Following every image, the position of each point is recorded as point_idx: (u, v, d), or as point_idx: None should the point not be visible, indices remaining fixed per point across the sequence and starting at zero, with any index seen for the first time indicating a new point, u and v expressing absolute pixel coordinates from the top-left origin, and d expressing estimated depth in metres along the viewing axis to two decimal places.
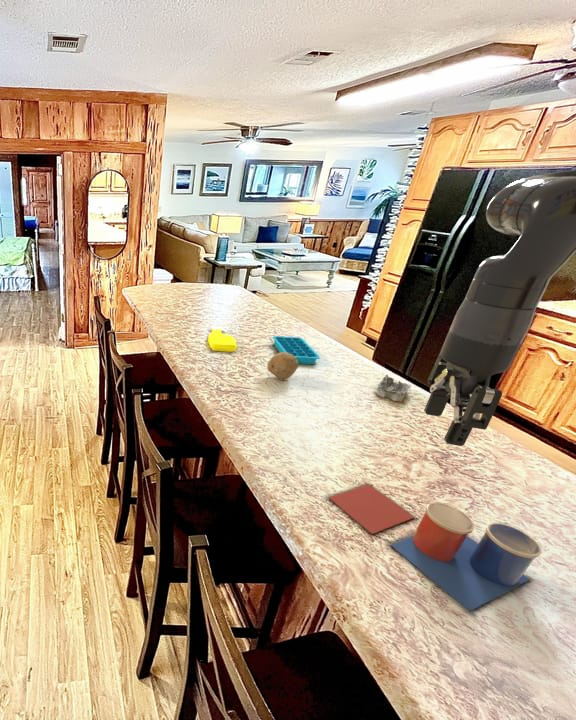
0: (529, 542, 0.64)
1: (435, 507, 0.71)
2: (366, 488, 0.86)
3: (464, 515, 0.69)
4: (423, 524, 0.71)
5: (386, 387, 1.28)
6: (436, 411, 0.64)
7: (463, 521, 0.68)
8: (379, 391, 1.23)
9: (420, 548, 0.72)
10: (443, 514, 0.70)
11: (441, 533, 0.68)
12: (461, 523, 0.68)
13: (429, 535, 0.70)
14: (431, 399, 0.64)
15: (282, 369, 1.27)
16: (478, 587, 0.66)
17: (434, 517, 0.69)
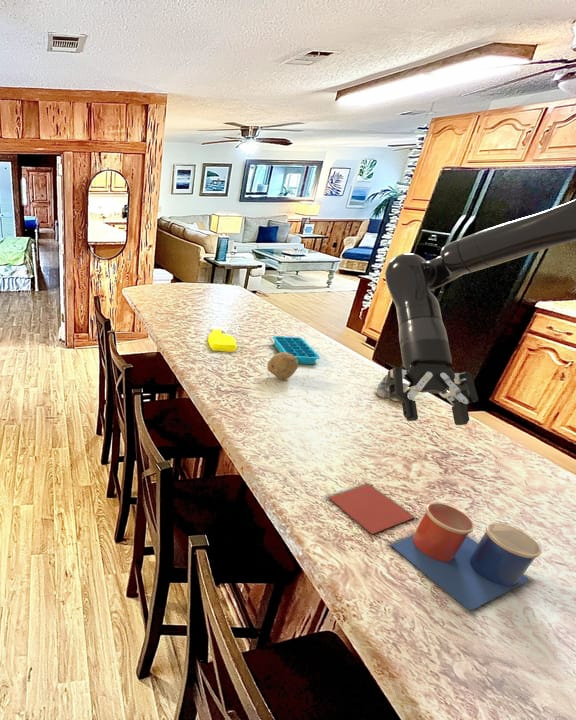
0: (529, 542, 0.64)
1: (435, 507, 0.71)
2: (366, 488, 0.86)
3: (464, 515, 0.69)
4: (423, 524, 0.71)
5: (386, 387, 1.28)
6: (459, 419, 0.73)
7: (463, 521, 0.68)
8: (379, 391, 1.23)
9: (420, 548, 0.72)
10: (443, 514, 0.70)
11: (441, 533, 0.68)
12: (461, 523, 0.68)
13: (429, 535, 0.70)
14: (452, 410, 0.75)
15: (282, 369, 1.27)
16: (478, 587, 0.66)
17: (434, 517, 0.69)
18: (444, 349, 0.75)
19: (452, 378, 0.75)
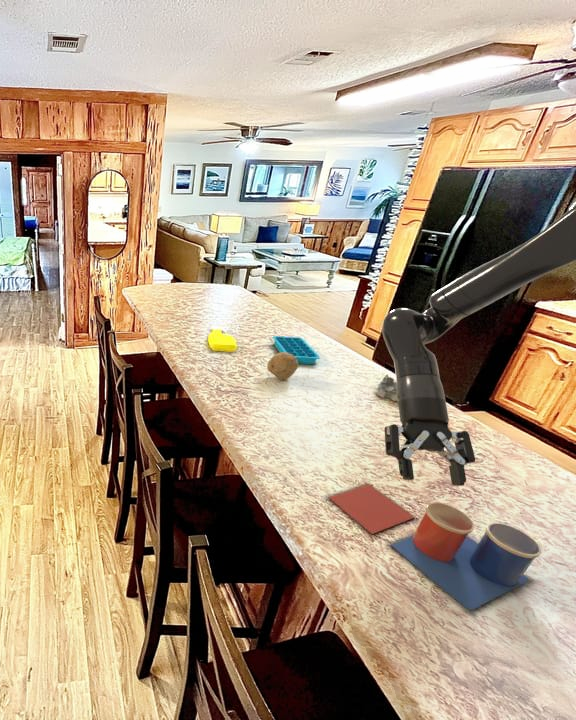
0: (529, 542, 0.64)
1: (435, 507, 0.71)
2: (366, 488, 0.86)
3: (464, 515, 0.69)
4: (423, 524, 0.71)
5: (386, 387, 1.28)
6: (456, 480, 0.73)
7: (463, 521, 0.68)
8: (379, 391, 1.23)
9: (420, 548, 0.72)
10: (443, 514, 0.70)
11: (441, 533, 0.68)
12: (461, 523, 0.68)
13: (429, 535, 0.70)
14: (449, 469, 0.75)
15: (282, 369, 1.27)
16: (478, 587, 0.66)
17: (434, 517, 0.69)
18: (441, 408, 0.75)
19: (449, 437, 0.75)
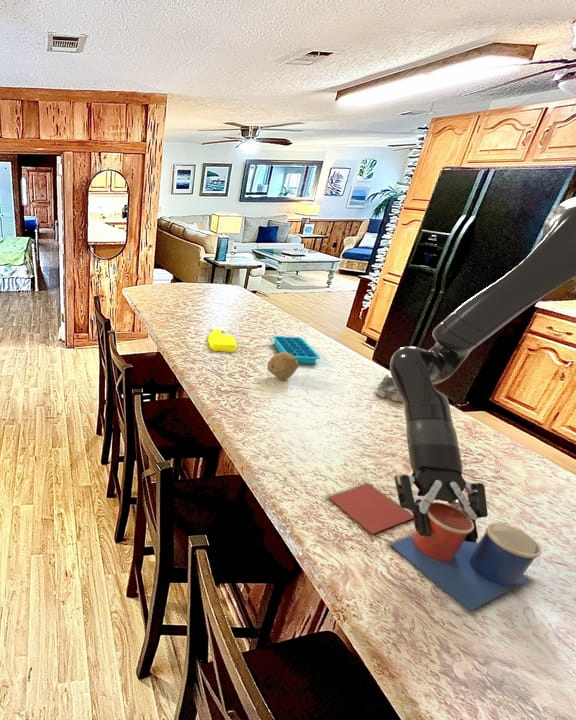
0: (529, 542, 0.64)
1: (434, 507, 0.71)
2: (366, 488, 0.86)
3: (464, 515, 0.69)
4: None
5: (386, 387, 1.28)
6: (467, 536, 0.69)
7: (463, 521, 0.68)
8: (379, 391, 1.23)
9: (420, 548, 0.72)
10: (443, 514, 0.70)
11: (441, 533, 0.68)
12: (461, 523, 0.68)
13: None
14: None
15: (282, 369, 1.27)
16: (478, 587, 0.66)
17: (434, 517, 0.69)
18: (454, 457, 0.71)
19: (463, 487, 0.71)
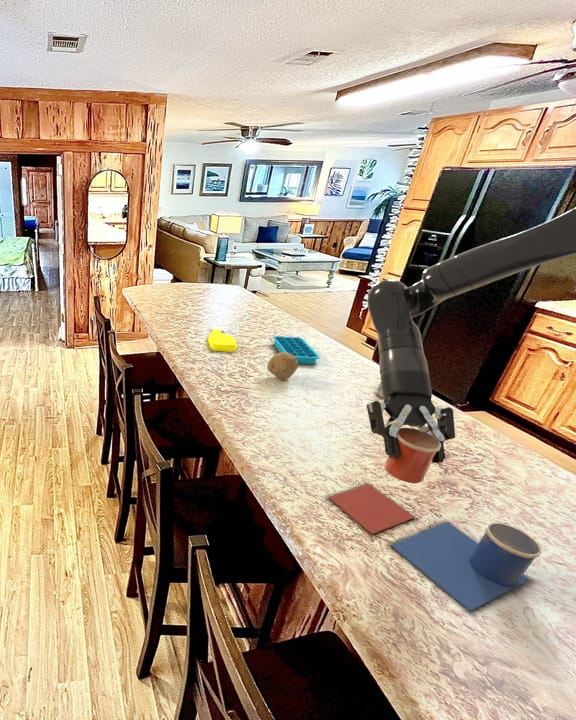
0: (529, 542, 0.64)
1: (404, 431, 0.73)
2: (366, 488, 0.86)
3: (432, 437, 0.71)
4: None
5: None
6: (435, 457, 0.71)
7: (431, 442, 0.70)
8: (379, 391, 1.23)
9: (390, 472, 0.74)
10: (412, 437, 0.71)
11: (409, 453, 0.70)
12: (429, 443, 0.70)
13: None
14: None
15: (282, 369, 1.27)
16: (478, 587, 0.66)
17: (403, 439, 0.71)
18: (424, 381, 0.72)
19: (432, 411, 0.73)
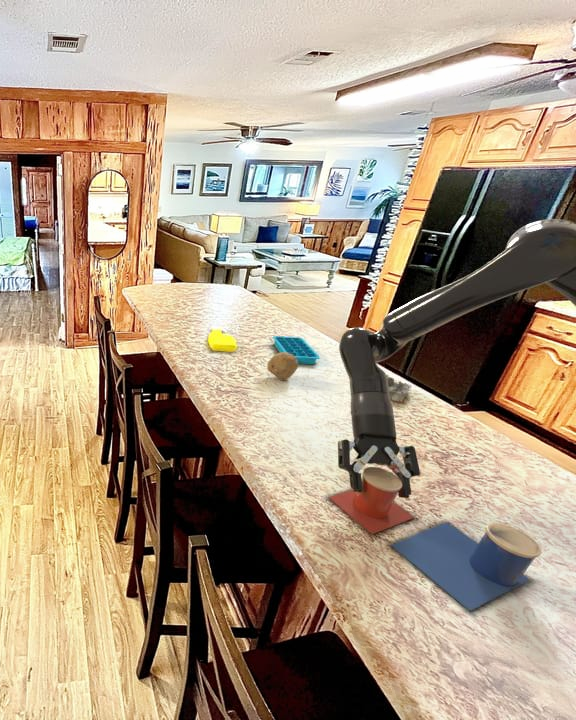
0: (529, 542, 0.64)
1: (370, 470, 0.80)
2: None
3: (395, 477, 0.78)
4: None
5: None
6: (402, 492, 0.78)
7: (393, 481, 0.77)
8: None
9: (358, 507, 0.81)
10: (377, 476, 0.78)
11: (374, 492, 0.77)
12: (391, 483, 0.77)
13: (364, 494, 0.79)
14: None
15: (282, 369, 1.27)
16: (478, 587, 0.66)
17: (369, 478, 0.78)
18: (388, 425, 0.79)
19: (396, 452, 0.80)
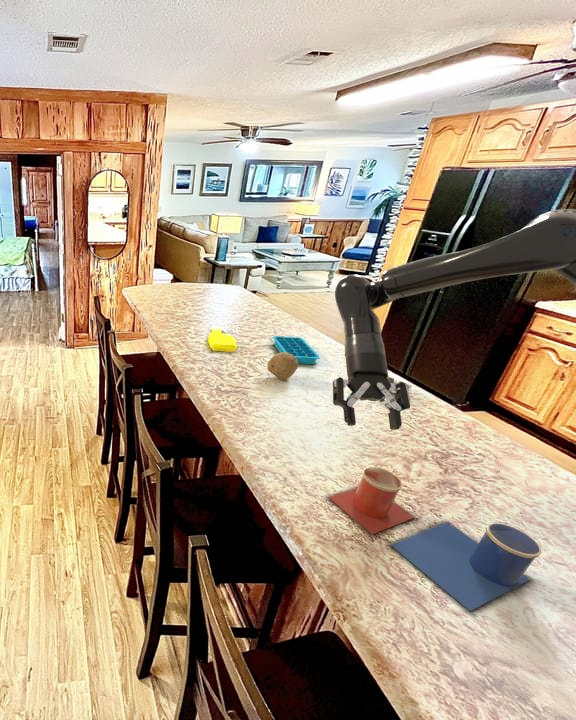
0: (529, 542, 0.64)
1: (370, 470, 0.80)
2: None
3: (395, 477, 0.78)
4: (360, 485, 0.80)
5: None
6: (393, 425, 0.82)
7: (393, 481, 0.77)
8: None
9: (358, 507, 0.81)
10: (377, 476, 0.78)
11: (374, 492, 0.77)
12: (391, 483, 0.77)
13: (364, 494, 0.79)
14: None
15: (282, 369, 1.27)
16: (478, 587, 0.66)
17: (369, 478, 0.78)
18: (380, 361, 0.84)
19: (388, 387, 0.84)
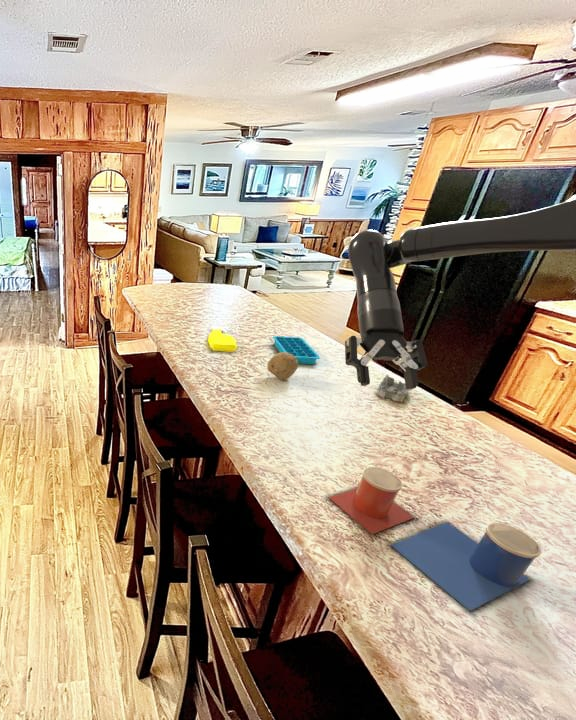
0: (529, 542, 0.64)
1: (370, 470, 0.80)
2: None
3: (395, 477, 0.78)
4: (360, 485, 0.80)
5: (387, 387, 1.28)
6: (409, 384, 0.78)
7: (393, 481, 0.77)
8: (380, 391, 1.23)
9: (358, 507, 0.81)
10: (377, 476, 0.78)
11: (374, 492, 0.77)
12: (391, 483, 0.77)
13: (364, 494, 0.79)
14: (404, 376, 0.80)
15: (282, 369, 1.27)
16: (478, 587, 0.66)
17: (369, 478, 0.78)
18: (396, 318, 0.79)
19: (404, 346, 0.80)
